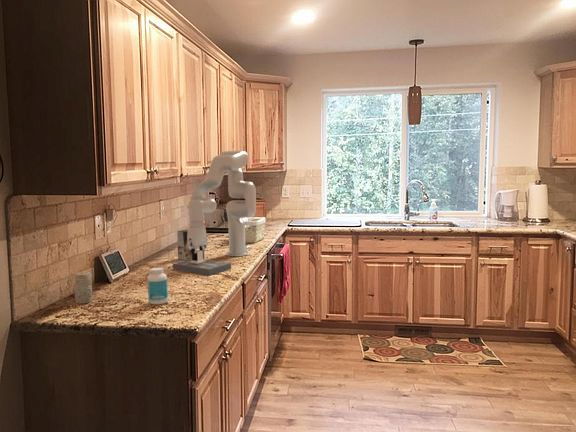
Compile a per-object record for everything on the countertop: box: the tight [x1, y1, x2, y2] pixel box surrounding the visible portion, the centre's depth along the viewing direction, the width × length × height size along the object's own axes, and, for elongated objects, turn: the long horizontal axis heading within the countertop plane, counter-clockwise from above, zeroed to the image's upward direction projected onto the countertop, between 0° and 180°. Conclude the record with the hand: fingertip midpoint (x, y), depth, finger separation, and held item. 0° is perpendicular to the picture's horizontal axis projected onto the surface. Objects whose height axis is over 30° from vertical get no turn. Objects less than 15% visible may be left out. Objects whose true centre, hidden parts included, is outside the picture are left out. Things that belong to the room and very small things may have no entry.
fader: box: [191, 249, 207, 264], centre depth 248 cm, size 6×5×6 cm
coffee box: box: [176, 229, 192, 261], centre depth 274 cm, size 9×6×16 cm
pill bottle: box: [146, 267, 169, 306], centre depth 191 cm, size 8×7×14 cm
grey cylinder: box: [74, 271, 93, 305], centre depth 193 cm, size 6×8×12 cm
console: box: [172, 258, 232, 276], centre depth 247 cm, size 16×25×3 cm, turn 56°
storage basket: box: [242, 216, 267, 244], centre depth 331 cm, size 24×16×15 cm
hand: (198, 259), depth 248 cm, fingers closed on fader, 4 cm apart
